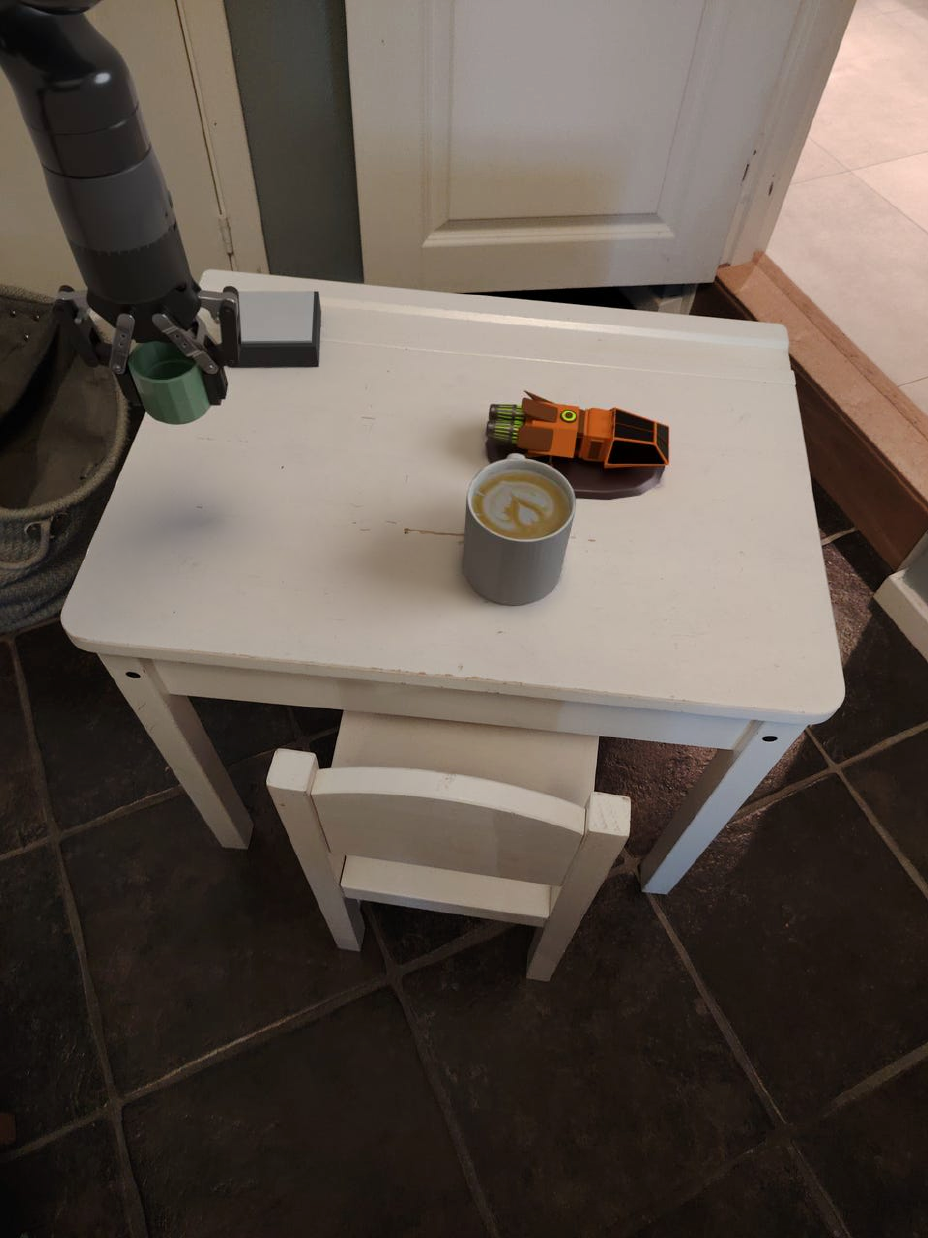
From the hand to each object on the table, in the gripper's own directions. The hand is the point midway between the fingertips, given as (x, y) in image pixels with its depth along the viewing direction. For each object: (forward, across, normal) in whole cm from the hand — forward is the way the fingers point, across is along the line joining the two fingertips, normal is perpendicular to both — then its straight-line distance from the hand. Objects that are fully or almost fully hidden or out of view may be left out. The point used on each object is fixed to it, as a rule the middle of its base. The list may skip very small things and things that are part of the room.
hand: (179, 398), depth 72 cm
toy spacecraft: (+17, +38, +9) cm, 42 cm away
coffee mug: (+17, +30, -4) cm, 35 cm away
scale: (+16, +4, +28) cm, 32 cm away
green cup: (+1, 0, 0) cm, 1 cm away
